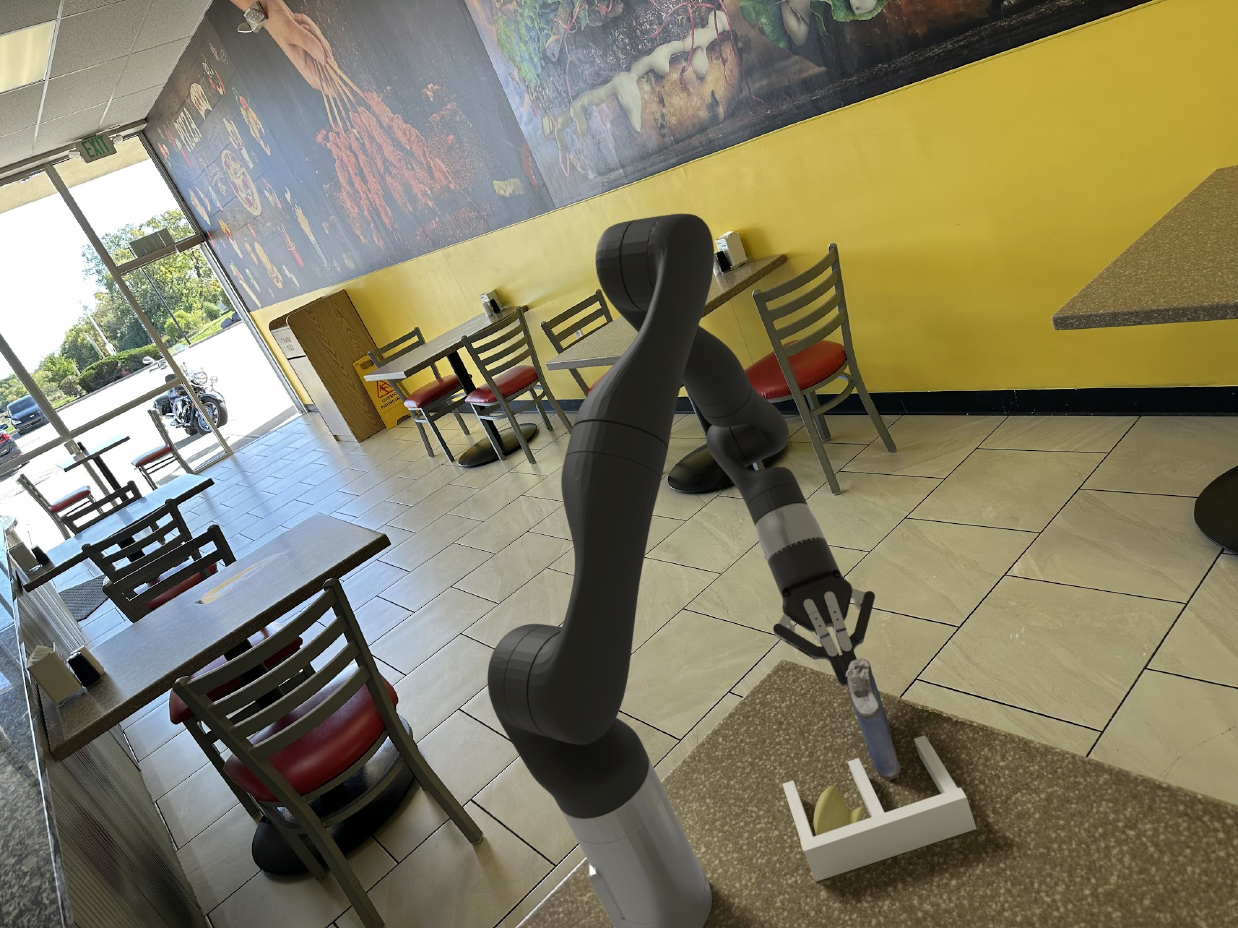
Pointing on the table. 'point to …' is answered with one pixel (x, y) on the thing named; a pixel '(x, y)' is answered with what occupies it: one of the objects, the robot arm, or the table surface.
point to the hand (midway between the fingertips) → (855, 687)
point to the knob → (834, 812)
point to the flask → (872, 718)
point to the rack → (884, 822)
